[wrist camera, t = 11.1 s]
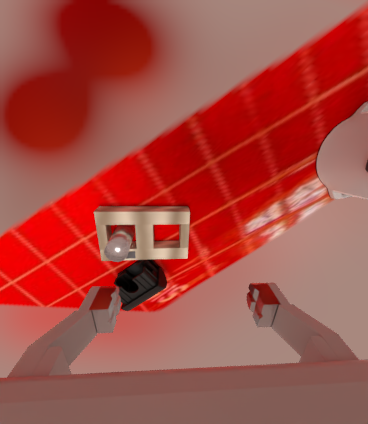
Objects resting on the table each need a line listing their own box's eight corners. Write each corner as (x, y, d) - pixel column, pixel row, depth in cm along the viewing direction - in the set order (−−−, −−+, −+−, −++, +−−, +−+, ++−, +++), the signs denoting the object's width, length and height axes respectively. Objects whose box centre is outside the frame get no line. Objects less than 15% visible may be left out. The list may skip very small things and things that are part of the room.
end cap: (135, 292, 45) (130, 316, 39) (115, 275, 42) (107, 298, 36) (167, 272, 44) (167, 294, 37) (148, 253, 41) (145, 273, 35)
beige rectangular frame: (188, 206, 38) (190, 212, 35) (186, 250, 42) (187, 258, 39) (99, 206, 36) (93, 212, 33) (106, 252, 40) (101, 261, 37)
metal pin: (134, 221, 38) (127, 242, 30) (135, 238, 39) (129, 261, 32) (114, 222, 37) (102, 242, 30) (116, 238, 39) (105, 262, 31)
